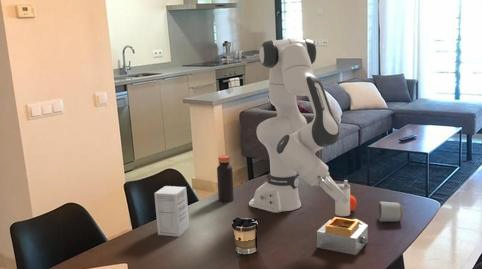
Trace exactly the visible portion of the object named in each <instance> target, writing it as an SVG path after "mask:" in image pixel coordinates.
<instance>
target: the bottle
mask: <svg viewBox="0 0 482 269" xmlns="http://www.w3.org/2000/svg"><path fill="white" fill-rule="evenodd" d="M230 158H231V157H230V155H219V156H218V164H219V165H218V166H217V168H216V176H217V177H216V178H217V191H218V192H217V194H218V195H217V196H218V201H219V202H221V203H229V202H232V201H234V199H235V198H234V197H235V196H234V194H235V193H234V178H233V167H232V165H230V163H231V162H230V161H231V160H230Z"/></svg>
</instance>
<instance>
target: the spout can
mask: <svg viewBox="0 0 482 269" xmlns="http://www.w3.org/2000/svg"><path fill="white" fill-rule="evenodd" d="M348 182H349V181H348V180H347V179H344V180H343V183H336V184H337V185H338V187H339V188H340V189H341V190H342V191H343V193H344V194H345V197H346V198H347V199H348V200H349V201H348V202H347V203H346V204H345V203H344V202H343V201H341V200H340V201H339V202H337V201H335V200H334V204H335V206H334V208H335V212H334V214H335V215H336V216H338V217H347V216H350V215H351V211H350V195H351V185H350V184H349V183H348Z"/></svg>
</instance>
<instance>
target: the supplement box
mask: <svg viewBox="0 0 482 269" xmlns="http://www.w3.org/2000/svg"><path fill="white" fill-rule="evenodd" d="M187 191H188V190H187V186H175V185H173V186H171V185H165V186H163V187H162V188H160V189H158V190H157V191H155V192H154V205H155V214H156V226H157V227H156V228H157V235H158V236H165V237H167V236H168V237H169V236H171V237H182V235H183V234H185V233H186V231H188V230H189V229H190V218H189V207H188V204H189V203H188V194H187Z"/></svg>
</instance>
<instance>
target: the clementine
mask: <svg viewBox="0 0 482 269" xmlns="http://www.w3.org/2000/svg"><path fill="white" fill-rule="evenodd" d="M357 203H358V202H357V198H355V196H354V195H352V194H350V212H352V211H354V210H355V209H356V208H357Z"/></svg>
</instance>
